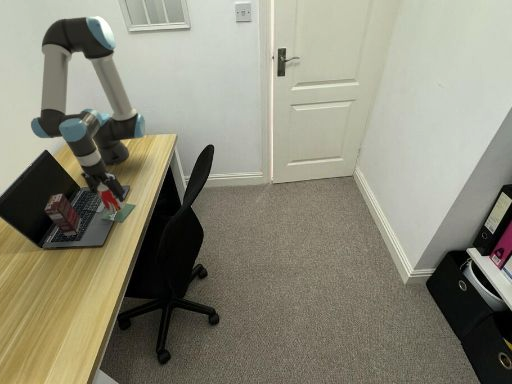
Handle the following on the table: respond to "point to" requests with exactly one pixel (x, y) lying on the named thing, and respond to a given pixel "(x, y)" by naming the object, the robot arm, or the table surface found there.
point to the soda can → (107, 198)
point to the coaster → (120, 213)
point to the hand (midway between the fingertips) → (115, 205)
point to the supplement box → (63, 214)
